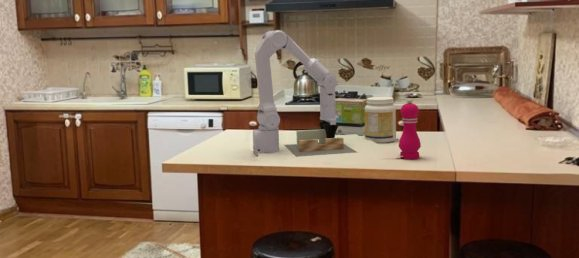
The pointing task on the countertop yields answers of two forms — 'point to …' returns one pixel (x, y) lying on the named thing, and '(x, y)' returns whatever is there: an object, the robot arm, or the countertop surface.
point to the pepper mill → (409, 132)
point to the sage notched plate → (311, 135)
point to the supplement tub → (380, 120)
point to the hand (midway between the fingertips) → (328, 141)
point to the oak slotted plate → (314, 146)
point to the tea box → (350, 116)
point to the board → (297, 153)
